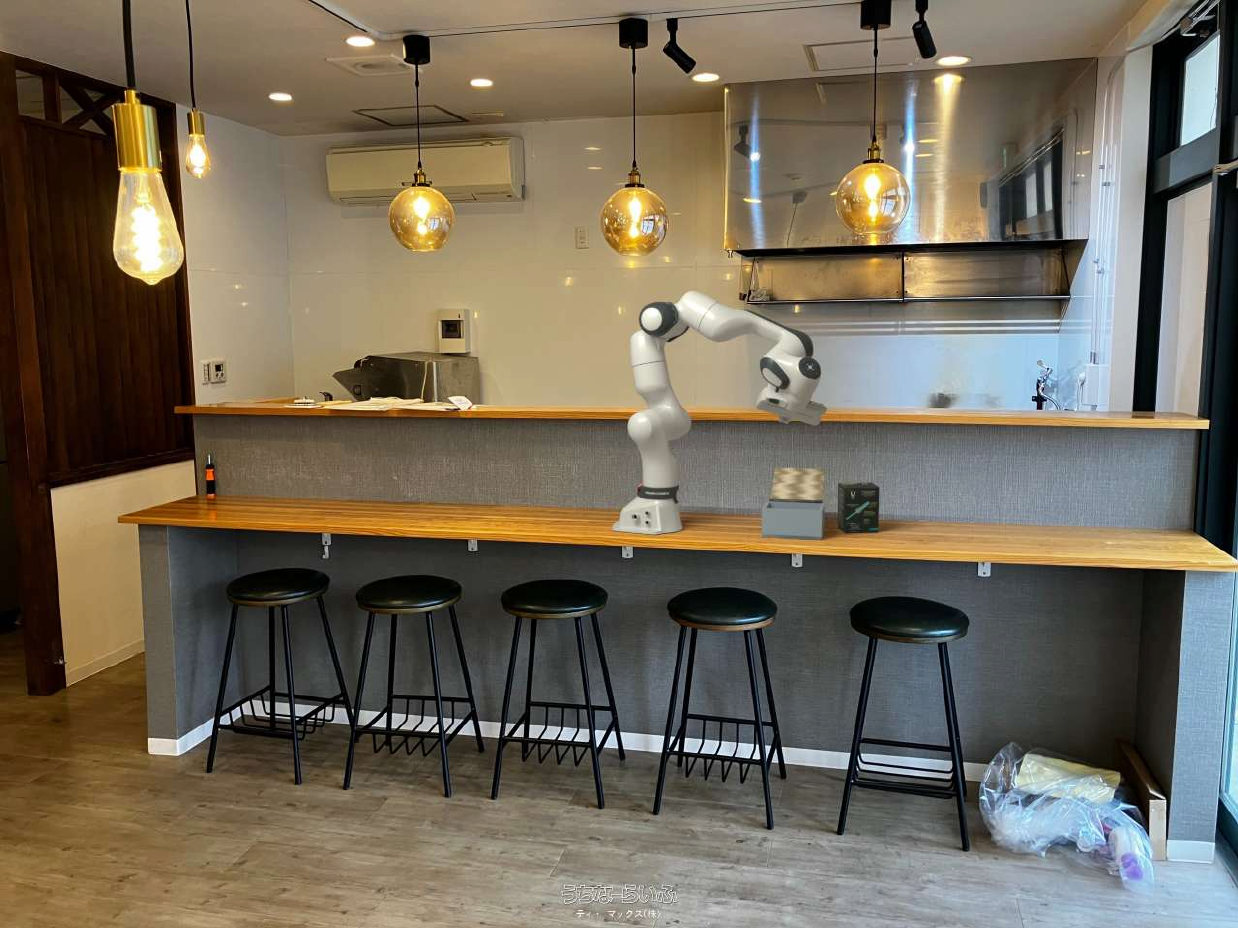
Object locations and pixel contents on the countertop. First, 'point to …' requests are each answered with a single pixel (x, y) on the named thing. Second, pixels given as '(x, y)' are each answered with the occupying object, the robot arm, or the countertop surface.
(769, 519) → the crate
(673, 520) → the robot arm
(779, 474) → the lid flap
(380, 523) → the countertop surface
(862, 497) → the tampon box
